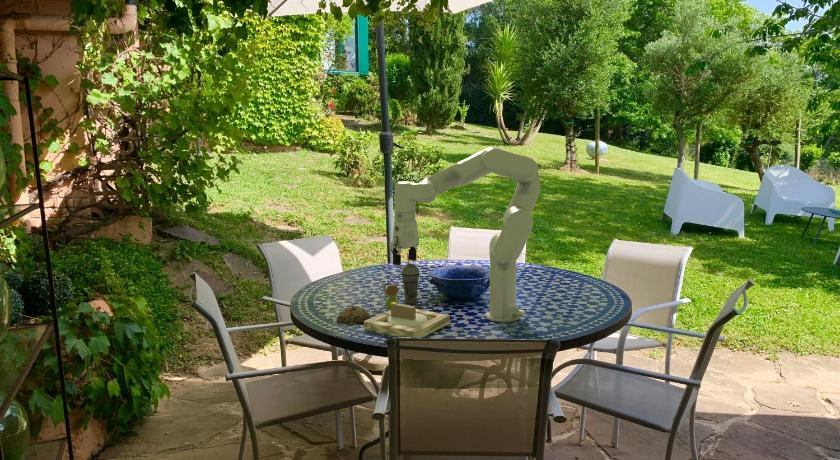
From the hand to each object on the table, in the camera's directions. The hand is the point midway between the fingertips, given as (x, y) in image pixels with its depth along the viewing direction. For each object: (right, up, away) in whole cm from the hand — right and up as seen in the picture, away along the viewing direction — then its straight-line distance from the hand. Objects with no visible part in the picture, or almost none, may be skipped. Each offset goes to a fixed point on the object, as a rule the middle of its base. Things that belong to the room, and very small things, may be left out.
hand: (404, 262), depth 238 cm
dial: (+1, -21, -5) cm, 22 cm away
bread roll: (-19, -21, +5) cm, 29 cm away
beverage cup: (+2, -17, +26) cm, 31 cm away
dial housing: (+1, -22, -5) cm, 23 cm away
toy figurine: (-6, -19, +13) cm, 24 cm away
